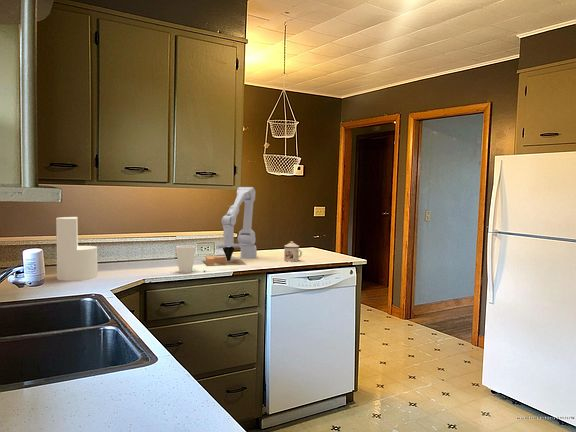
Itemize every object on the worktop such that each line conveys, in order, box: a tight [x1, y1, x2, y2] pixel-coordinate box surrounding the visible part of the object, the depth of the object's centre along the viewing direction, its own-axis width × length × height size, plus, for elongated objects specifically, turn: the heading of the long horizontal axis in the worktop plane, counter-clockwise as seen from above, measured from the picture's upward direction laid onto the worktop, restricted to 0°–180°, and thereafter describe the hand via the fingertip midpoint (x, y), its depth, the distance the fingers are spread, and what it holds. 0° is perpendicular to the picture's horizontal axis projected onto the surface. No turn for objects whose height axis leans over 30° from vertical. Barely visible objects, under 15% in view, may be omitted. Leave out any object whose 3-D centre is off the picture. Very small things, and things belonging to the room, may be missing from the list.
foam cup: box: [175, 244, 196, 274], centre depth 227 cm, size 10×9×13 cm
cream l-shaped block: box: [55, 216, 99, 282], centre depth 209 cm, size 17×17×28 cm
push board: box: [201, 258, 247, 267], centre depth 251 cm, size 22×20×1 cm
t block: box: [205, 255, 227, 264], centre depth 251 cm, size 10×12×3 cm
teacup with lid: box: [283, 241, 303, 262], centre depth 268 cm, size 12×9×12 cm
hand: (228, 260), depth 252 cm, fingers closed
